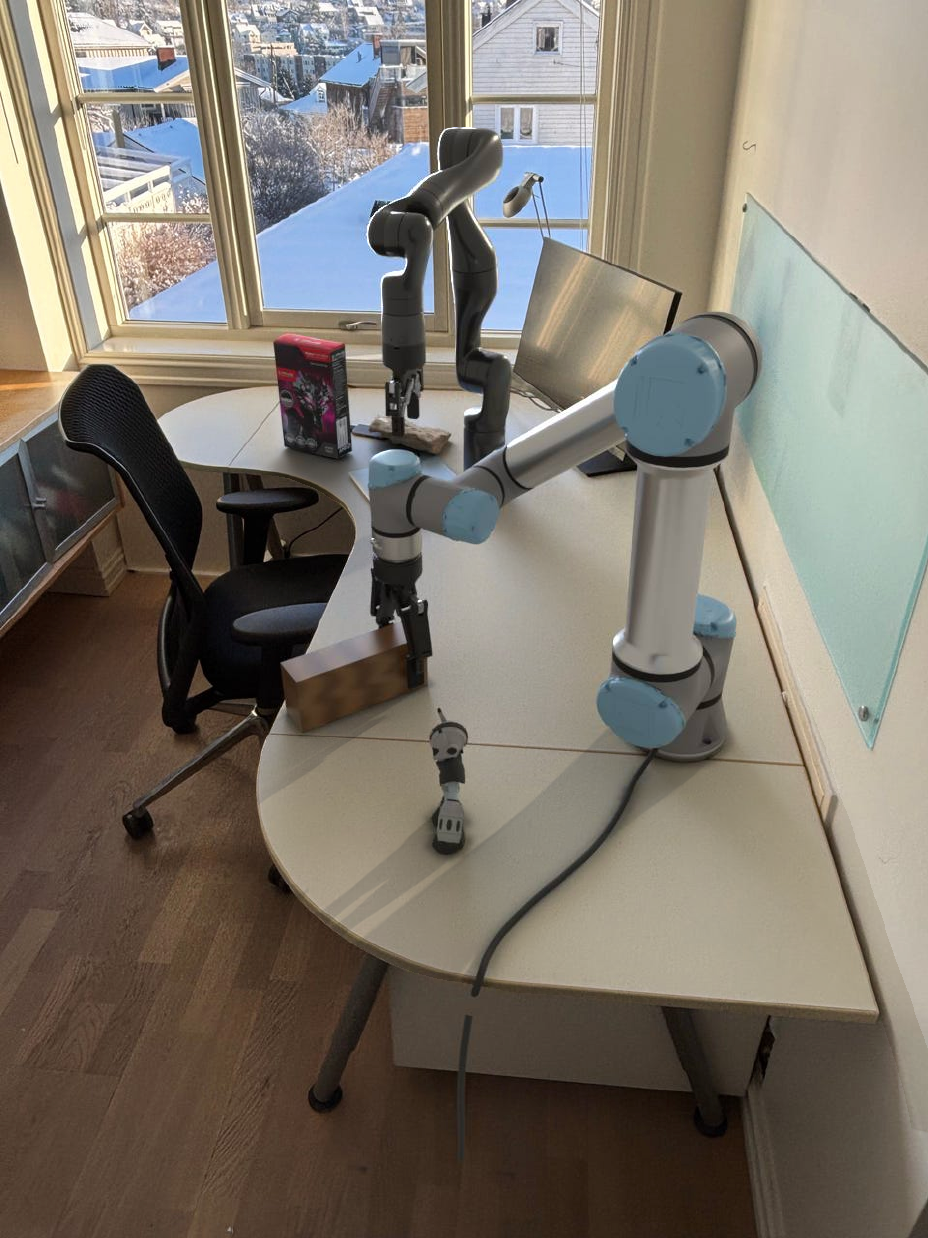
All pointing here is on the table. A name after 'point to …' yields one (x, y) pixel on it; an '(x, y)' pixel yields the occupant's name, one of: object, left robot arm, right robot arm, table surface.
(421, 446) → the stone
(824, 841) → the table surface
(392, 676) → the box
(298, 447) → the graphics card box
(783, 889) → the table surface
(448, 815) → the robot
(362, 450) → the table surface
